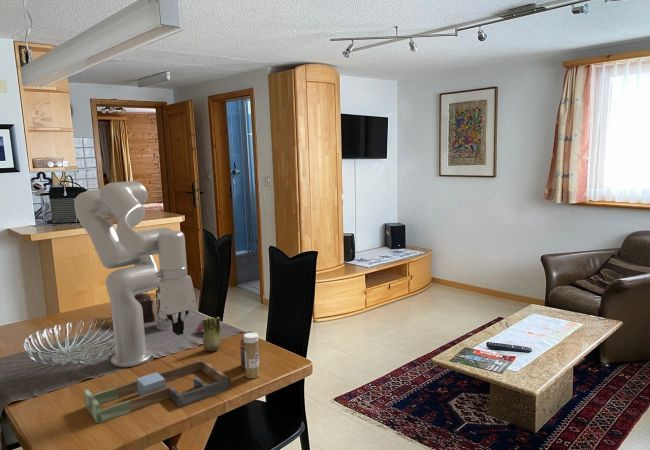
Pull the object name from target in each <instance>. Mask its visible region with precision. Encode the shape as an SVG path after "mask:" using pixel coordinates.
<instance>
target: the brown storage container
mask: <svg viewBox="0 0 650 450" xmlns="http://www.w3.org/2000/svg"><path fill="white" fill-rule="evenodd" d="M134 297H135V299H136V300H137V301H138V302H139V303H140V304H141V306H142V309H143V320H144V324H147V323H152V322H155V321H156V318H155V316H154V314H153V310H152V303H153V300H154V299H152V297H151V295H150V294H149V293H147V292H144V293H141V294H137V295H135V296H134Z"/></svg>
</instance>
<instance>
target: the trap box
mask: <svg viewBox="0 0 650 450" xmlns="http://www.w3.org/2000/svg"><path fill="white" fill-rule="evenodd" d="M199 371H203V372H204V373H205V374H206V375H208V376H209V377H211V378H212V379H213V381H211V382H208V383H206V382H204V381H203V380H201V379H200V378H199V377H197V376H195V377H193V388H192V389H188V390H186V391H182V392H181V393H180V392H179V391H178V390H177V389H175V388H174V386H172V385H169V386H165V388H163V389H160V390H157V391H154V392H151V393H148V394H145V395H142V396H139V395H138V396H137V397H133V398H131V399H128V400H125V401H122V402H120V403H117V404H113V405H111V406H108V407H104V408H102V409H101V404H104V403H108V402H110V401H113V400H116V399H120V398H123V397H126V396H128V395H131V394H134V393H138V390H137V379H136V380H134V381H130V382H127V383H123V384H122V385H118V386H115V387H111V388H109V389H106V390H102V391H99V392H96V393H94V394H92V392H91V391H90V390H89V388H88V389H85V390H83V393H84V404H85V405H84V406H85V409H87V412H89V414H90V415H91V416H92V418H93V419H94V420H95V422H96V423H97V424H101V423H104V422H107V421H109V420H112V419H114V418H118V417H120V416H123V415H125V414H129V413H132V412H134V411H137V410H139V409H143V408H145V407H148V406H151V405H154V404H156V403H159V402H161V401H165V400H167V399H168V400H169V399H170V400H172V402H173V403H175V404H176V405H177V406H178V407H179V408H182V407H185V406H188V405H191V404H193V403H195V402H198V401H201V400H204V399H207V398H209V397H211V396H214V395H217V394H219V393H222V392H225V391H227V390H230V389H232V379H231V377H230V376H227V375H226V374H225V373H224V372H222V371H221V370H219V369H218V368H216V367H214V366H213V365H212V364H210V362H207V361H206V360H204V359H199V360H195V361H193V362H189V363H187V364H184V365H180V366H177V367H174V368H170V369H168V370H165V371H162V372H158V373H159V374H160V375H161V376H162V377H163V378H164V379H165V383H167V382H170V381H172V380H173V381H174V380H176V379H180V378H182V377H184V376H187V375H190V374H193V373H197V372H199Z"/></svg>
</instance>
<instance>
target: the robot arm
mask: <svg viewBox="0 0 650 450" xmlns="http://www.w3.org/2000/svg"><path fill="white" fill-rule="evenodd" d="M148 196H149V195H148V191H147V188H146V187H145V185H143V184H142V183H141V182H140V181H136V180H130V181H117V182H110V183H107V184H105V185H104V186H102V188H101V189H94V190H93V189H92V190H87V191H83V192H81V193H79V194H78V195H77V196H76V197H75V199H74V211H75V215H76V218H77V220H78V222H79V223H80V225H81V226H82V227H83V229H84V230H85V231H86V233H87V234H88V235H89V238H90V240H91V242H92V245H93V247H94V250H95V252H96V255H97V256H98V258H99V259H98V260H100V262H101V264H102V265H103V267H105V269H108V270H110V269H113V270H114V269H115V270H114V271H111V272H110V273H109V274H108V275H107V276H106V279H105V286H106V290H107V291H106V292H107V294H108V297H109V301H110V308H111V317H112V329H113V338H114V341H113V342H114V349H115V354H114V355H112V357H111V358H110V359H111V360H110V362H111V364H112V366H114V367H117V368H130V367H135V366H139V365H142V364H144V363H147V361H149V360H150V359H151V358H152V353H151V351H150V350H149V349H146V347H147V345H146V336H145V323H144V320H143V309H142V306H141V304H140V303H139V302H138V301H137V300H136V299H135V297H134V296H135V295H137V294H141V293H143V294H145V293H147V292H152V291H154V290H157V289H158V290H157V305H158V311H159V318H161V319H169V320H171V321H172V329H171V331H172V332H173V333H174V334H175V335H176V336H180V335H184V330H185V324H184V323H185V322H184V321H185V320H186V317H187V316H188V315H189V313H192V312H195V309H196V296H195V290H194V289H195V288H194V286H193V285H194V283H193V281H192V277H191V275H188V265H187V251H186V239H185V238H186V237H185V234H184V233H183V231H180V230H173V229H171V228H169V227H158V228H151V229H145V230H140V231H139V230H138V231H135V230H134V228H135V227H136V226H138V225H139V224H140V223H142V221H143V220H144V218H145V216H146V208H145V206H144V205H145V204H146V202H147V201H148ZM109 214H112V215H113V216H114V217H115V218H116V220H117V224H116V226H115V225H114V224H113V223H111V222H110V221H109V220H108V219H107V218H104V217H103V216H102V215H109ZM154 255H158V261H159V264H158V265H159V267H158V265H157V263H156V260H155V258H154ZM133 265H134V266H133ZM176 313H178V316H176Z"/></svg>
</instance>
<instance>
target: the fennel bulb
mask: <svg viewBox="0 0 650 450" xmlns="http://www.w3.org/2000/svg"><path fill="white" fill-rule="evenodd" d="M210 318H211V321H210ZM215 319H216V325H215ZM202 320H203V325H204V329H203V334H202V335H203V337H202V344H203V345H202V346H203V348H204V349H205V351H207V352H216V351H218V350H219V349H220V348H221V345H222V333H221V332H222V331H221V330H220V322H221V317H219V316H217V317H216V318H215V317H214V316H213V317H208V319H206V318H205V319H204V318H203V319H202ZM207 320H208V324H207ZM211 323H212V326H211Z"/></svg>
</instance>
